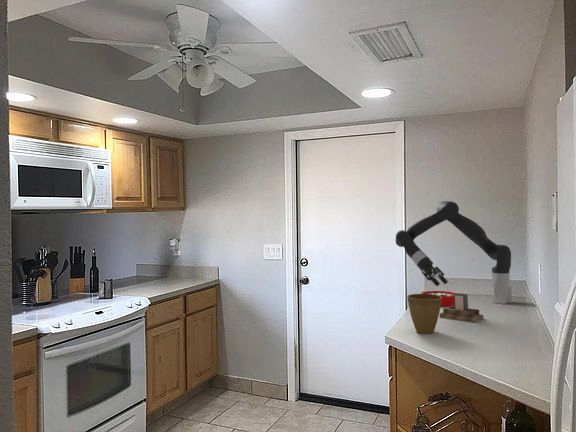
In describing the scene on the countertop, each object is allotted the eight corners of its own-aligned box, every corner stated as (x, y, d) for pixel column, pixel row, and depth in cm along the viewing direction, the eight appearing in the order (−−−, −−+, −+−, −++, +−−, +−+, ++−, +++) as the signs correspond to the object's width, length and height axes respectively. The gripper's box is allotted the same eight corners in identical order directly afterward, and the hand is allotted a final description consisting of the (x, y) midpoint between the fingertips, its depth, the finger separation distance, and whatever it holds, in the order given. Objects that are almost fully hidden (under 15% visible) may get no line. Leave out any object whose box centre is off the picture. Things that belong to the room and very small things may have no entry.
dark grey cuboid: (454, 313, 237) (453, 294, 237) (457, 312, 240) (457, 293, 240) (464, 315, 233) (464, 295, 233) (468, 314, 236) (467, 294, 236)
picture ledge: (439, 317, 239) (439, 308, 239) (449, 313, 246) (448, 305, 246) (474, 322, 226) (474, 313, 226) (483, 318, 233) (483, 309, 233)
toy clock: (425, 297, 266) (417, 291, 286) (425, 307, 266) (417, 300, 286) (461, 296, 265) (450, 290, 285) (461, 306, 265) (451, 300, 285)
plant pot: (417, 337, 203) (416, 300, 203) (402, 329, 217) (401, 294, 217) (449, 334, 206) (448, 298, 206) (432, 326, 220) (431, 292, 220)
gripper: (419, 257, 244) (440, 281, 236) (432, 254, 254) (453, 277, 246) (410, 266, 248) (431, 290, 240) (424, 264, 258) (444, 287, 250)
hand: (442, 284), depth 243 cm, fingers open, 8 cm apart
